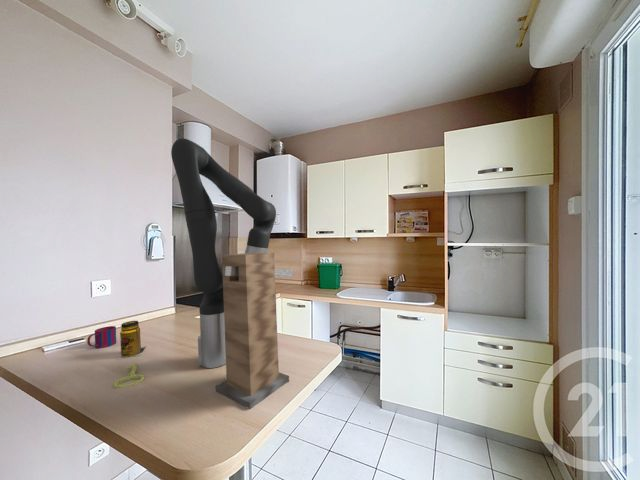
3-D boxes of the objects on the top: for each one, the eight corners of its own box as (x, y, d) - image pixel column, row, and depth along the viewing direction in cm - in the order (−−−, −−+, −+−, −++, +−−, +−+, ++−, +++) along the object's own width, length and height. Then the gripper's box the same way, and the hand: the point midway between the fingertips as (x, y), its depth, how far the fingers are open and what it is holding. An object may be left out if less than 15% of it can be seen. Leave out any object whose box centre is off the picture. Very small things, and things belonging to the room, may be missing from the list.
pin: (287, 276, 84) (287, 269, 85) (292, 276, 83) (292, 269, 83) (224, 275, 65) (225, 266, 65) (230, 275, 64) (231, 266, 64)
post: (256, 368, 80) (251, 252, 80) (289, 381, 72) (284, 252, 72) (216, 391, 68) (211, 255, 68) (250, 409, 60) (244, 255, 60)
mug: (120, 342, 106) (119, 326, 106) (92, 352, 97) (92, 335, 97) (109, 341, 109) (108, 325, 109) (81, 351, 99) (80, 333, 99)
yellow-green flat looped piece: (138, 368, 84) (137, 362, 84) (145, 382, 75) (145, 375, 75) (110, 377, 79) (109, 370, 79) (114, 393, 70) (114, 385, 70)
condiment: (116, 360, 90) (115, 326, 90) (124, 350, 98) (123, 320, 98) (140, 355, 93) (139, 323, 93) (146, 347, 101) (145, 317, 101)
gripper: (248, 255, 90) (241, 299, 91) (238, 260, 76) (229, 312, 76) (269, 259, 91) (262, 302, 91) (263, 264, 77) (254, 316, 77)
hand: (247, 307), depth 84 cm, fingers open, 8 cm apart
